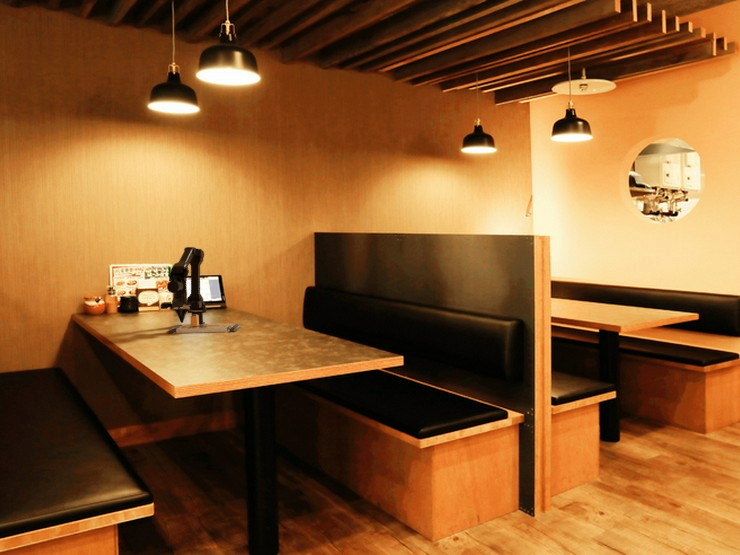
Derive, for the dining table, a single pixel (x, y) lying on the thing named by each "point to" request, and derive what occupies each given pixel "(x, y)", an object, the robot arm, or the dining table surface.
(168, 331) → the cord
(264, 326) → the dining table surface
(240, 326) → the cord
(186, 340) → the dining table surface
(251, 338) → the dining table surface
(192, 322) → the block
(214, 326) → the faceplate
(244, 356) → the dining table surface
